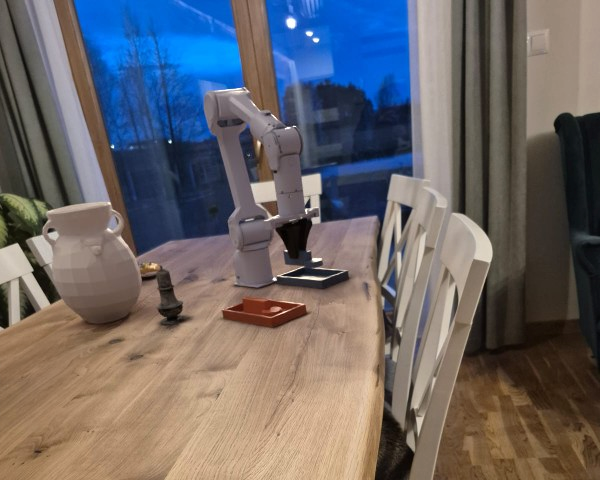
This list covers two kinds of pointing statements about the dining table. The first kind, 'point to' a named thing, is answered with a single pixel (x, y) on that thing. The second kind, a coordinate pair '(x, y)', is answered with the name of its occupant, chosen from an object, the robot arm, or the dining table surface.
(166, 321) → the salt shaker
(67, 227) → the white handled vase
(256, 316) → the terracotta tray
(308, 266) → the dark blue stepped block
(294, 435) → the dining table surface
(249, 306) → the orange stepped block
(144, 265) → the cake
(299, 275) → the slate tray
